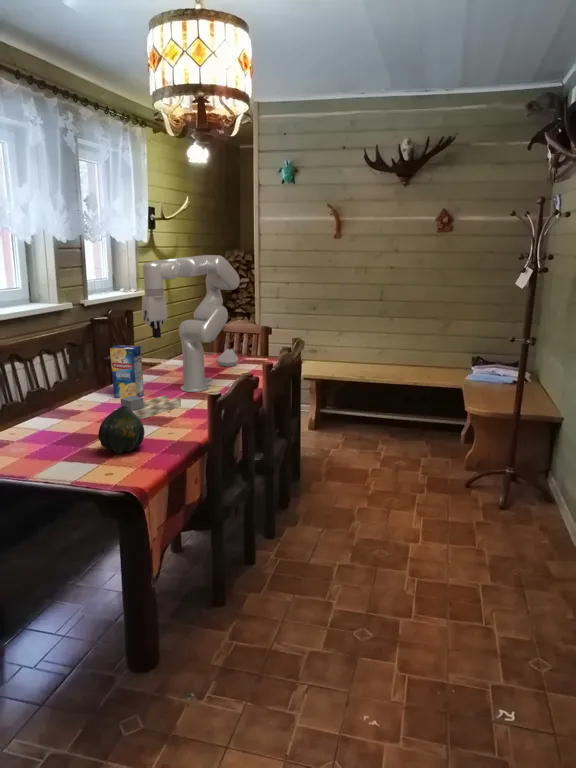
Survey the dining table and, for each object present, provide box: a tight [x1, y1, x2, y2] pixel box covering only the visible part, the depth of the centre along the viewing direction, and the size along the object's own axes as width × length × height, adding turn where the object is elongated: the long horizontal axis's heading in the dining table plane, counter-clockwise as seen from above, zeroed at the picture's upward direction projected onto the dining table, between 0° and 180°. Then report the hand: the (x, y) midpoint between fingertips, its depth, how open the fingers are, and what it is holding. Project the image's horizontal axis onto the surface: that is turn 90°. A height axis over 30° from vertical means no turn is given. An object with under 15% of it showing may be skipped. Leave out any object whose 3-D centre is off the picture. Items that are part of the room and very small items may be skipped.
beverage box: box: [109, 344, 145, 399], centre depth 262 cm, size 7×11×22 cm, turn 75°
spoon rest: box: [215, 348, 239, 368], centre depth 330 cm, size 24×12×7 cm, turn 1°
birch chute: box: [113, 394, 182, 420], centre depth 240 cm, size 26×9×4 cm, turn 143°
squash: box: [97, 406, 146, 455], centre depth 199 cm, size 14×15×15 cm
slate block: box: [120, 396, 144, 412], centre depth 234 cm, size 6×6×6 cm
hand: (156, 337), depth 252 cm, fingers closed
